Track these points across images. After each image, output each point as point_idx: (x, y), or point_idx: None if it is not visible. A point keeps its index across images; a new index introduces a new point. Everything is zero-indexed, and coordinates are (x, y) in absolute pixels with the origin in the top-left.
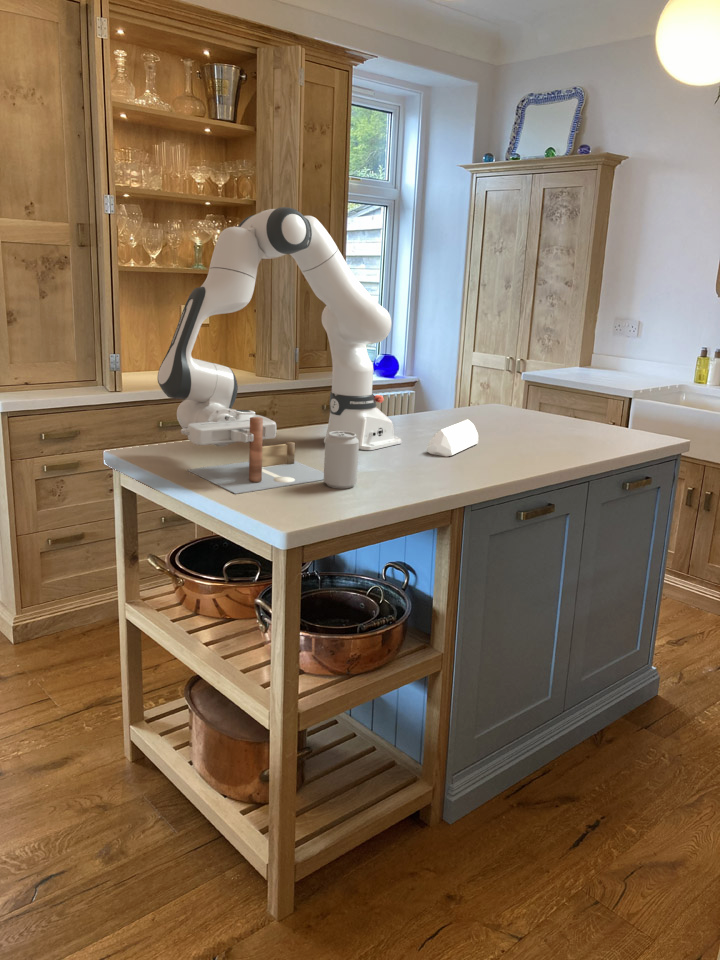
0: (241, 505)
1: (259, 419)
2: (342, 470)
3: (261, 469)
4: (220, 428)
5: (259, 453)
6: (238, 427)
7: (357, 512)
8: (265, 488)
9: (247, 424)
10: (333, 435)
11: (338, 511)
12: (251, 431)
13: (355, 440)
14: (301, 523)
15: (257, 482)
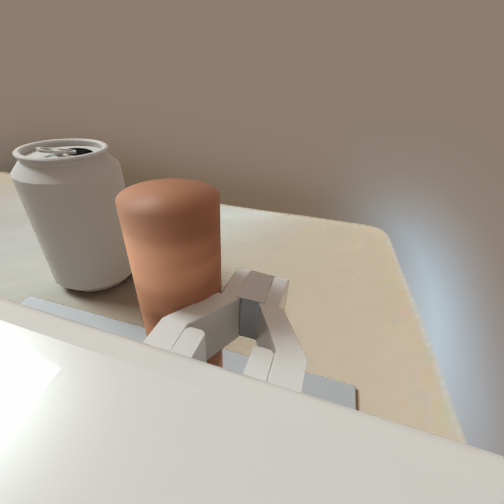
0: (387, 320)
1: (192, 180)
2: None
3: None
4: (440, 436)
5: None
6: (217, 366)
7: (244, 213)
8: (247, 356)
9: (82, 353)
10: (101, 150)
11: (259, 224)
12: (220, 276)
13: (81, 150)
14: (342, 230)
15: None
